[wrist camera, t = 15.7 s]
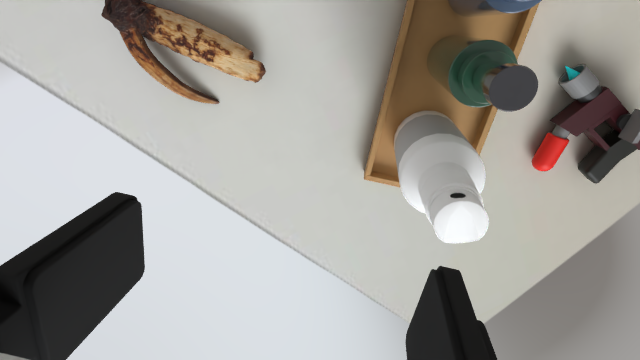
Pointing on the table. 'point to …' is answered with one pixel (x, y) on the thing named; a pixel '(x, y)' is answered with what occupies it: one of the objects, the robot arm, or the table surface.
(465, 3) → the slate bottle
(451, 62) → the green bottle
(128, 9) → the lashed bone hook
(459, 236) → the spray bottle
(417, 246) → the table surface
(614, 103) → the toy gun
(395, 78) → the tray
